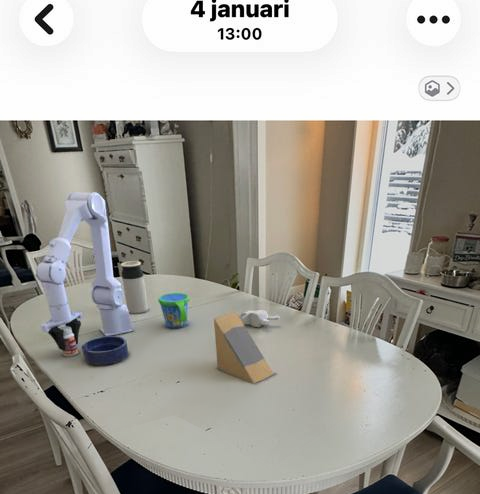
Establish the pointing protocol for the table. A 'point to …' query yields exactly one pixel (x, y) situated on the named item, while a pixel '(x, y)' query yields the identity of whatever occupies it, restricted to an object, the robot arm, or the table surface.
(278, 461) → the table surface
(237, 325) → the sandwich container
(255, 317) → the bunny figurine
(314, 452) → the table surface
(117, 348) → the bowl
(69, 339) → the pill bottle
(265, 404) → the table surface
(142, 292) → the travel mug
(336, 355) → the table surface
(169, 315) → the snack cup
